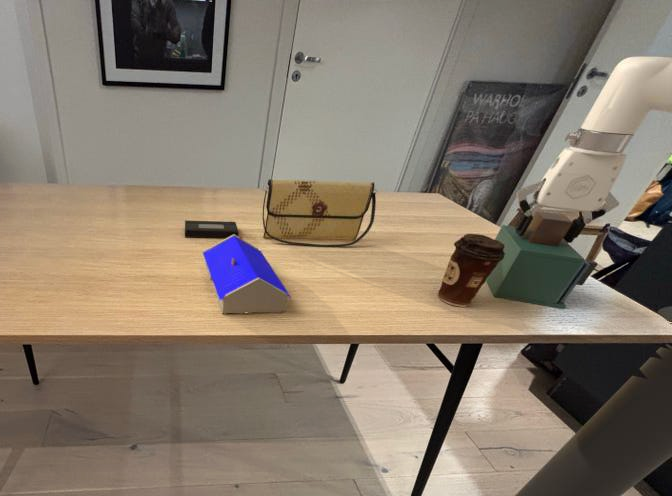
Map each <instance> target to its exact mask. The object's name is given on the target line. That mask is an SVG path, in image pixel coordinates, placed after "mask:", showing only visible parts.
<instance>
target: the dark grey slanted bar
mask: <svg viewBox="0 0 672 496" xmlns="http://www.w3.org/2000/svg"><path fill="white" fill-rule="evenodd" d="M577 253H578V254H579V255H580V256H581V257H582V258H584V257H583V256H582V255H581V254H580V253H579V252H577ZM583 262H584V263H585V264H584V265H583V266H582V268H581V269H580V271H579V272H578V273H577V275H576V276H575V278H574V279H573V280H572V282H571V283H570V285H569V286H568V288H567V289H566V290H565V292H564V293H563V295H562V296H561V297H560V299H559V301H560V302H564V303H565V301H566V300H567V298H568V297H569V295H570V294H571V293H572V291H573V290H574V288H576V286H583V285H584V284H585V283H586V281H587V280H588V278H589V277H590V276H591V274H593V272H594V271H595V269H596V267H597V266H598V265H599V263H598V262H597V261H593V260H586V259H585V258H584V260H583Z"/></svg>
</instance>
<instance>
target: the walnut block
mask: <svg viewBox="0 0 672 496" xmlns="http://www.w3.org/2000/svg"><path fill="white" fill-rule="evenodd" d="M532 217H533V220H532V221H531V223H530V225H529V227H528V228H527V230H526V232H525V234H524V237H525V238H526V239H527V240H528V241H529V243H536V244H543V245H550V246H557V247H558V245H559V244H560V242H561V240H562V239H563V237H564V236H565V234H566V233H567V231H568V230H569V228H570V226H571V225H572V223H573V222H572V221H573V220H571V219H570V218H569V217H568V216H566V215H565V214H561V213H554V212H553V213H552V212H546V211H539V210H538V211H537V212H535V213H534V214H533V215H532Z"/></svg>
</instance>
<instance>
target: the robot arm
mask: <svg viewBox="0 0 672 496" xmlns="http://www.w3.org/2000/svg"><path fill="white" fill-rule="evenodd" d="M596 98H597V99H595V102H594V104H593V105H592V107H591V109H590V110H589V112H588V114H587V116H586V118H585V119H584V121H583V122H582V124H581V127H580V128H578V129H577V131H576V132H568V133H567V134H566V136H565V138H564V141H565V142H569V145H570V146H569V147H564V149H563V150H562V151H561V152H560V154H558V156H557V157H556V158H555V160H554V161H553V163H552V164H551V165H550V167H549V168H548V170H547V171H546V172H545V174H544V175H543V177H542V179H541V180H540V181H538V182H536V183H533V184H531V185H528V186H525V187H523V188H521V189H518V190H517V191H516V192H515V194H516V199H517V204H518V206H519V209H520V210H521V212H522V214H521V215H520V218H519V219H518V221H517V222H516V224H515V226H514V227H515V230H516V231H515V232H516V233H517V234H518V236H523V235H524V234H525V232H526V230H527V228H528V227H529V225H530V223H531V221H532V220H533V216H534V214H535V213H536V212H537V211H538V212H539V211H540V210H541V209H543V208H547V209H555V210H564V211H573V212H577V213H578V214H577V215H578V216H577V218H574V219H573V220H571V221H572V222H573V223H572V225H571V226H570V228H569V230H568V231H567V233H566V234H565V236H564V237H563V239H564V240H565V241H566V242H567V243H568V244H572V243H573V241H574V240H575V239H577V238H578V237H579V236H580V234H581V233H582V231H583V230H584V228H585V227H586V225H589V224H590V223H592V222H593V221H594V220H597V219H599V218H601V217H603V216H605V215H606V214H607V213H609V212H610V211H612V210H613V209H615V208H617V207H618V206H619V205H620V202H619V200H618V199H617V198H616V197H615V196H614V195H613V193H612V192H611V190H612V189H613V187H614V185H615V183H616V181H617V179H618V177H619V175H620V173H621V172H622V169H623V167H624V164H625V162H626V159H627V156H628V155H627V154H625V153H624V151H625V149H626V148H627V146H628V145H629V144H630V142H631V140H632V139H633V137H634V135H635V134H636V133H637V131H638V130H639V128H640V126H641V125H642V123H643V122H644V120H646V119H645V118H646V117H647V116H648V114H649V113H650V111H652V110H655V111H661V112H666V113H670V114H672V57H670V56H669V57H668V56H667V57H666V56H630V57H626V58H624V59H622V60H621V61H619V62H618V63H617V64H616V65H615V68H614V69H613V70H612V72H611V74H610V76H609V77H608V79H607V80H606V82H605V84H604V86H603V88H602V89H601V91H600V93H599V95H598V97H596ZM531 194H533V195H532V199H533V200H532V201H530V202H528V198H527V197H528V196H529V195H531Z"/></svg>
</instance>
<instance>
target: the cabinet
mask: <svg viewBox="0 0 672 496" xmlns="http://www.w3.org/2000/svg"><path fill="white" fill-rule="evenodd" d="M515 231H516V230H515V226H512V225H504V224H502V225H501V227H500V228H499V231H498V233H497V234H496V237H495V238H494V240H497V241H500V242H501V243H503V244H504V246H505V247H504V249H503V251H504V253H505V255H504V258H503V260H501V261H499V262H498V264H497V266H496V267H495V269H493V271H492V272H491V274H490V275H489V276H488V277H487V279H486V281H485V283H486V284H487V286H488V288H489V289H490V292H491V294H492V296H493V297H495V298H500V299H506V300H511V301H517V302H523V303H529V304H535V305H540V306H547V307H551V308H556V309H557V308H558V309H563V310H565V309H566V307H567V305H566V303H565V301H564V302H560V301H559V299H560V297H561V296H562V295H563V293H564V292H565V290H566V289H567V288H568V286H569V285H570V283H571V282H572V280H573V279H574V278H575V276H576V275H577V273H578V272H579V271H580V269H581V268H582V266H583V265H584V264H585V263H584V262H583V260H584V259H585V258H584V257H583V256H582V255H581V254H580V253H579V252H578V251H576V250H575V249H574V248H573V247H572V246H571V244H570V243H568V242H567V241H566V240H565V239H562V240H561V242H560V244H559V245H558V247H557V246H550V245H543V244H536V243H529V241H528V240H527V239H526V238H525V237H524V235H523V236H518V234H517V233H516V232H515ZM578 253H579V254H580V255H581V256H582V257H583V258H582V257H581V256H580V255H579V254H578Z"/></svg>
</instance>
